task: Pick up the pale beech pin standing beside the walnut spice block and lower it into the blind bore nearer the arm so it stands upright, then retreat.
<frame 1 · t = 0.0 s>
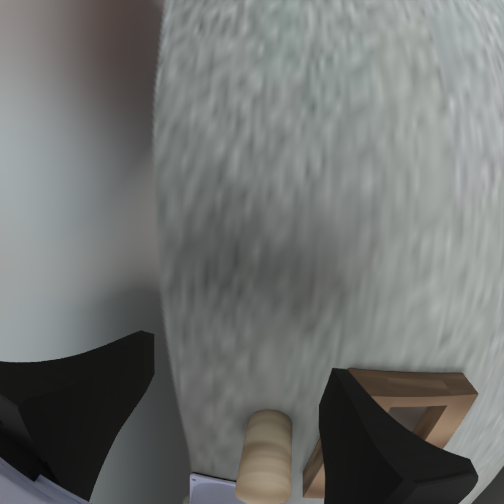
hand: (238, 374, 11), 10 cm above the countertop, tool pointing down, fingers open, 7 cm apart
beech pin: (269, 425, 24), on the countertop
spice block: (381, 432, 23), on the countertop
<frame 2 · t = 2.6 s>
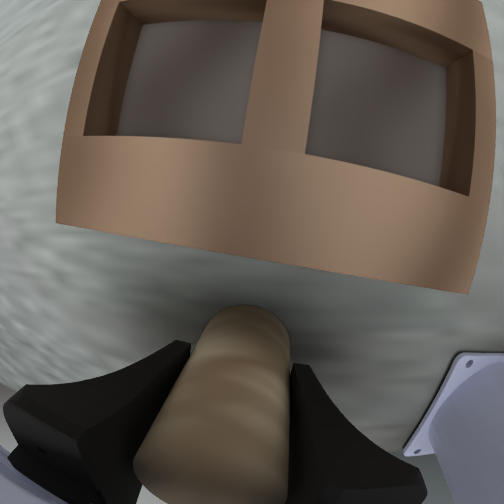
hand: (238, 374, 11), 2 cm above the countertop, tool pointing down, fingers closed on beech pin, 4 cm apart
beech pin: (246, 344, 13), on the countertop, touching gripper
spice block: (286, 94, 11), on the countertop
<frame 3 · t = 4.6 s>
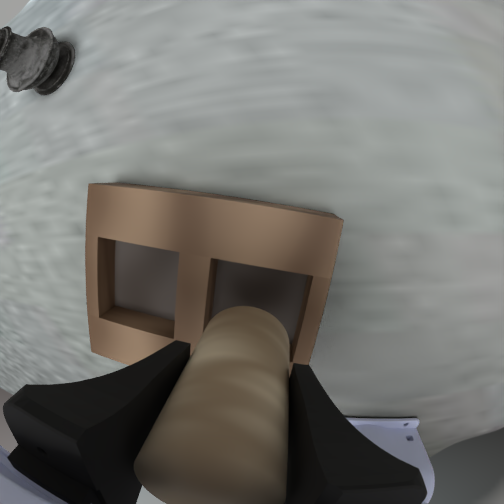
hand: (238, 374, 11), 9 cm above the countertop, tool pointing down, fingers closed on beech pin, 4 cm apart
grey chess piece: (54, 68, 18), on the countertop
beech pin: (245, 345, 13), point 7 cm above the countertop, touching gripper
spice block: (205, 282, 20), on the countertop
when the fingers open (5 cm above the countertop, at t = 6.8 s): beech pin stays where it is, resting on spice block.
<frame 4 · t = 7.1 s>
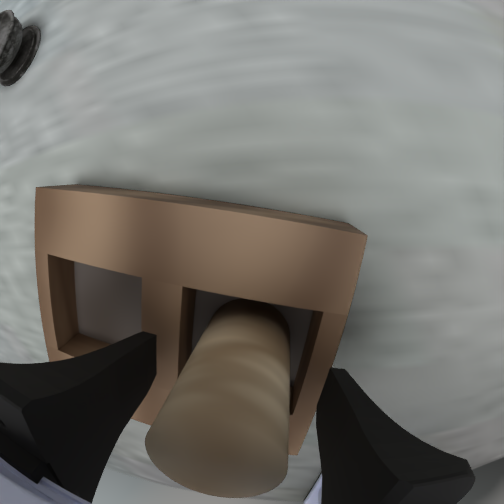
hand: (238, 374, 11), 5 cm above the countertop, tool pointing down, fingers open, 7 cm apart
grey chess piece: (19, 55, 13), on the countertop
beech pin: (248, 335, 14), point 1 cm above the countertop, touching spice block
spice block: (183, 310, 16), on the countertop
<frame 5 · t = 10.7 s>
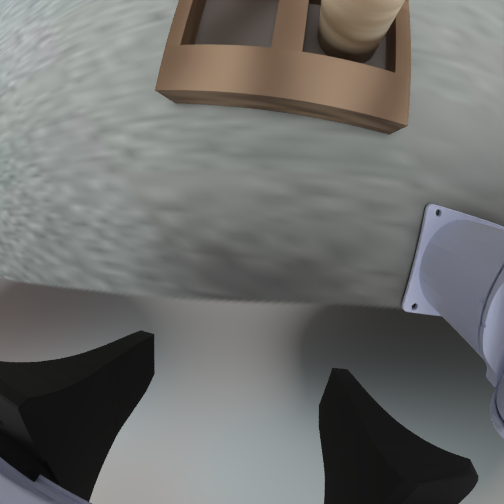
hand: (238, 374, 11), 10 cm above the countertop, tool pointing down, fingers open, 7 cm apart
beech pin: (346, 40, 15), point 1 cm above the countertop, touching spice block
spice block: (292, 37, 17), on the countertop
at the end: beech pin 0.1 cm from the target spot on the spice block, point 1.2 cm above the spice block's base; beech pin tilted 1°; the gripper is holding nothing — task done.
